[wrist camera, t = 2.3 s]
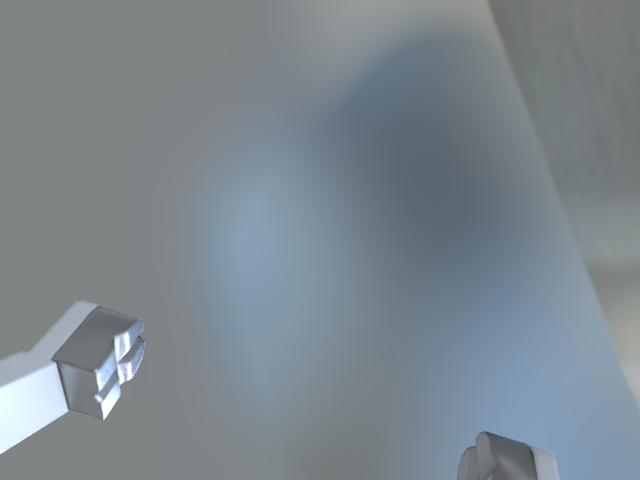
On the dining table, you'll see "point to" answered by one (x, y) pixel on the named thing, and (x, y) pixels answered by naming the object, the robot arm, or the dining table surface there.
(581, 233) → the dining table surface
